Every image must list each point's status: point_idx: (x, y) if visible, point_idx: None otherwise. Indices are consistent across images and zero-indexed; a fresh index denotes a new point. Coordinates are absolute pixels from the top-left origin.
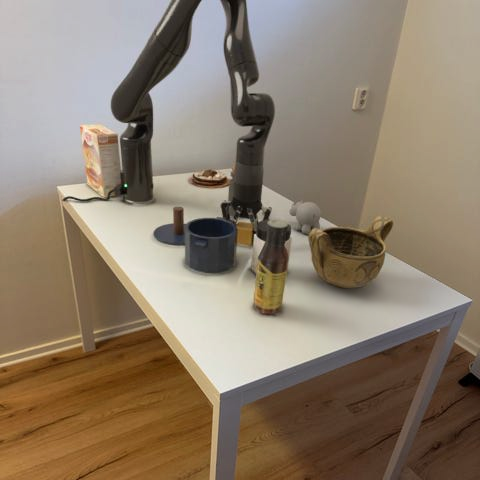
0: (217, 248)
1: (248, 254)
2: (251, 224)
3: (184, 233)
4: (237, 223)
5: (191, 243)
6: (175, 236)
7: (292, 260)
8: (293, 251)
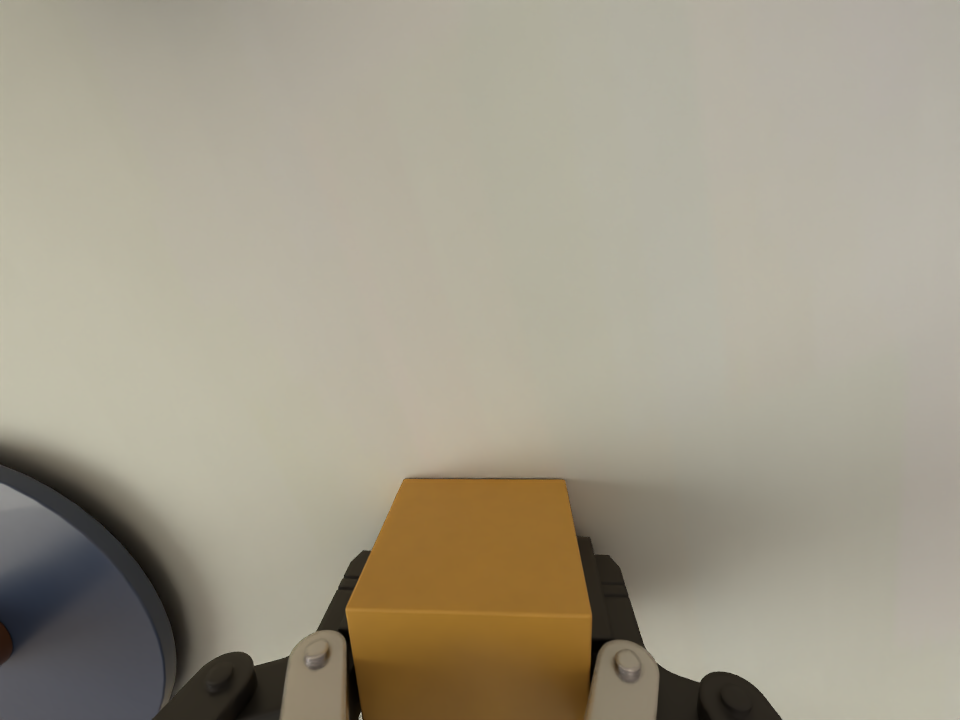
0: None
1: None
2: (538, 652)
3: (16, 634)
4: (362, 675)
5: None
6: (3, 693)
7: (931, 700)
8: (954, 562)
